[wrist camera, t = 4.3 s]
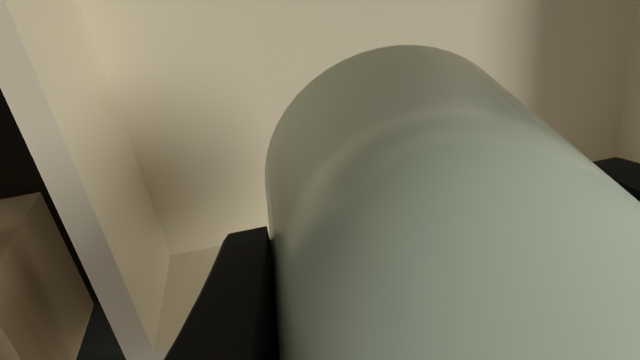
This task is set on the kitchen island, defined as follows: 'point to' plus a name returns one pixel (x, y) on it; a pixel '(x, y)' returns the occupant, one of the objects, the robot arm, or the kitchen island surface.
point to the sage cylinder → (442, 222)
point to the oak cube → (38, 285)
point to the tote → (255, 113)
